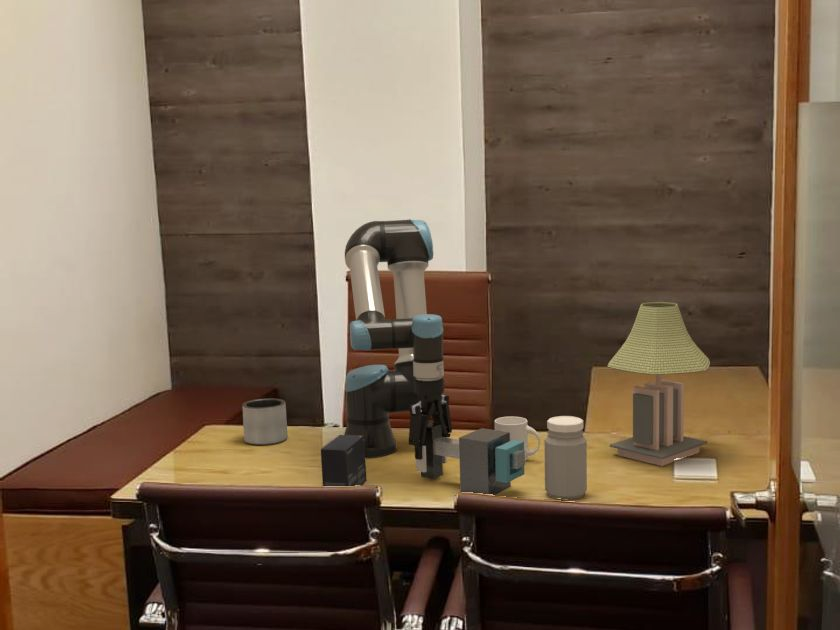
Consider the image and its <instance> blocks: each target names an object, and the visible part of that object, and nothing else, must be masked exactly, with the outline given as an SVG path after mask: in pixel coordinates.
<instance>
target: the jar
mask: <svg viewBox="0 0 840 630" xmlns="http://www.w3.org/2000/svg"><path fill="white" fill-rule="evenodd" d="M546 426H547V427H546V429H548V431H547V432H546V433H547V436H546V438H545V439H544V441H543V443H544V490H545V491H546V493H547V494H548V495H549V497H551V498H553V499H556V498H561V499H560V500H562V499H572V500H577V499H580V498H582V497H583V496H584V495H585V494H586V492H587V491H588V490H587V489H588V485H587V484H588V481H587V480H588V477H587V476H588V475H587V474H588V470H587V469H588V468H587V467H588V466H587V465H588V463H587V461H588V460H587V459H588V456H587V455H588V454H587V453H588V452H587V451H588V450H587V439H586V437H585V436H584V431H583V429H584V420H583V419H582V418H580V417H577V416H572V415H559V416H553V417H550V418H549V419H548V420H546Z"/></svg>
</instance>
